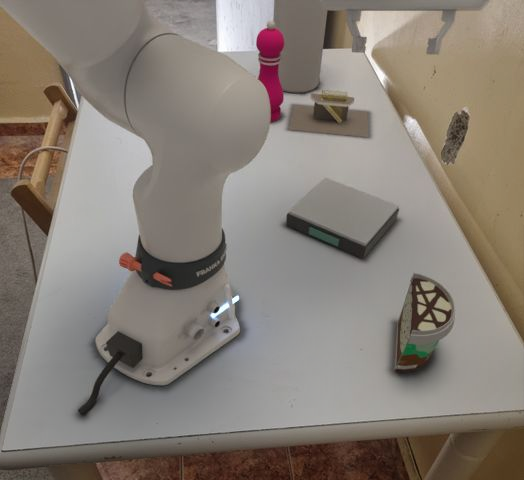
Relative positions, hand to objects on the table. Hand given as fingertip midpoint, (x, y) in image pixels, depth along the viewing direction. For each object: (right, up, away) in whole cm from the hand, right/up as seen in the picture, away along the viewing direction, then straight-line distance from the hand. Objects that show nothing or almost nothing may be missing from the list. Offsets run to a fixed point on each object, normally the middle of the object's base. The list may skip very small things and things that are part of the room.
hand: (394, 53), depth 66 cm
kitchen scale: (-2, -14, +31) cm, 34 cm away
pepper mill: (-16, +17, +56) cm, 61 cm away
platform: (-1, +16, +56) cm, 58 cm away
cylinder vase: (-9, +31, +68) cm, 75 cm away
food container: (+6, -38, +12) cm, 40 cm away
